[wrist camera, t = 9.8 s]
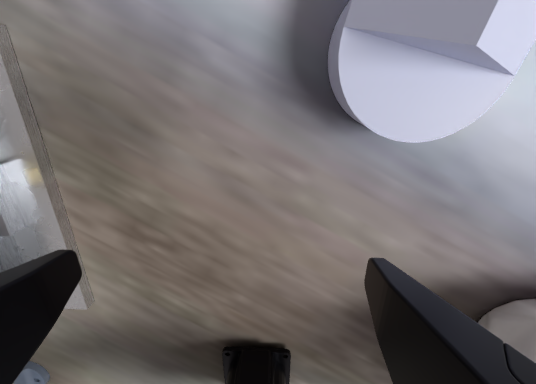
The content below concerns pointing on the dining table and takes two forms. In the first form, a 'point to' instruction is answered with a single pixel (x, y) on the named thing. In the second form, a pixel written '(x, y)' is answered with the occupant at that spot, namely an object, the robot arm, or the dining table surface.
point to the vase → (514, 325)
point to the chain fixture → (29, 182)
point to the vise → (33, 374)
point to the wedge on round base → (426, 62)
